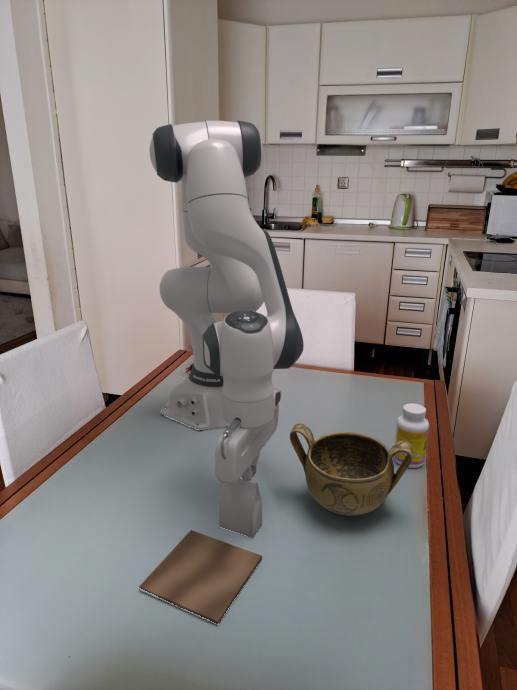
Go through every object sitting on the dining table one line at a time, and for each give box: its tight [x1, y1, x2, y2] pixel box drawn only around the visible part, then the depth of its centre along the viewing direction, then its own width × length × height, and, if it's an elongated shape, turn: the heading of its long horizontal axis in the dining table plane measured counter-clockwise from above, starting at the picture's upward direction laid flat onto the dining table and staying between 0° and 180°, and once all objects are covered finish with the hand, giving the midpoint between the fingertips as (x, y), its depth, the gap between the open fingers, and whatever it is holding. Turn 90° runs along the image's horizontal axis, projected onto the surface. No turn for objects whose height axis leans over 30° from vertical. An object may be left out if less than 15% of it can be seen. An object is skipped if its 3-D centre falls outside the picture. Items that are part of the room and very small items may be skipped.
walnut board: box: [139, 529, 263, 624], centre depth 78 cm, size 14×14×1 cm
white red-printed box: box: [217, 478, 263, 539], centre depth 87 cm, size 4×7×10 cm, turn 65°
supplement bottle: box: [393, 402, 430, 469], centre depth 106 cm, size 7×7×13 cm
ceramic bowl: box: [289, 422, 412, 517], centre depth 93 cm, size 22×17×15 cm
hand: (249, 476), depth 89 cm, fingers closed
